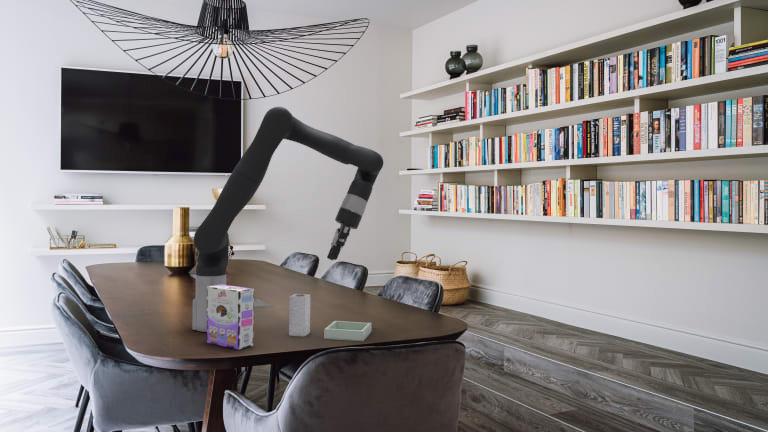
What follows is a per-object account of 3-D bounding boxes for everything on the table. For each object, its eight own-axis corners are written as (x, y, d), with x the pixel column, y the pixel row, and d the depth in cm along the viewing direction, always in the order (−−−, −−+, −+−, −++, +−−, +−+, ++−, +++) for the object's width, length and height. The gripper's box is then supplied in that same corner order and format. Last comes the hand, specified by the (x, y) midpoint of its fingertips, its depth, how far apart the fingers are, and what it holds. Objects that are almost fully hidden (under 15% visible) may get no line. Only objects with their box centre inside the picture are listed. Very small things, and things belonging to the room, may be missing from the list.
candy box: (254, 346, 161) (255, 288, 161) (238, 350, 156) (239, 290, 156) (221, 338, 169) (222, 283, 168) (205, 342, 164) (206, 285, 164)
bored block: (289, 335, 175) (289, 296, 174) (294, 331, 180) (295, 293, 179) (304, 336, 174) (305, 296, 173) (309, 332, 179) (310, 294, 178)
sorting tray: (324, 338, 171) (324, 329, 171) (334, 330, 183) (334, 320, 183) (363, 341, 169) (363, 331, 169) (371, 332, 181) (371, 323, 181)
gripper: (337, 208, 186) (318, 255, 183) (343, 203, 172) (322, 253, 169) (358, 218, 187) (339, 264, 184) (366, 213, 173) (345, 263, 171)
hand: (331, 259), depth 177 cm, fingers open, 8 cm apart
